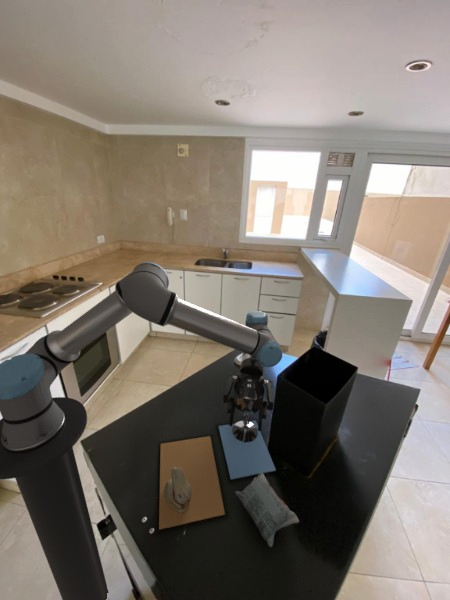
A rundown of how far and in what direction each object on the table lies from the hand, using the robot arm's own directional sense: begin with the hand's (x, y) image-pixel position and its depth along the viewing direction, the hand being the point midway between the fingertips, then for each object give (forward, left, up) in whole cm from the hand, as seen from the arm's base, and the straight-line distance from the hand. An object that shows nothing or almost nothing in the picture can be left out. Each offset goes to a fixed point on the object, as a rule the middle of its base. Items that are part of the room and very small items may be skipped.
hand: (245, 424), depth 62 cm
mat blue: (-4, +2, -13) cm, 13 cm away
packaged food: (+12, +2, -13) cm, 18 cm away
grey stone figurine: (+6, -17, -13) cm, 22 cm away
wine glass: (-5, +2, -8) cm, 10 cm away
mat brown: (+1, -14, -13) cm, 19 cm away
